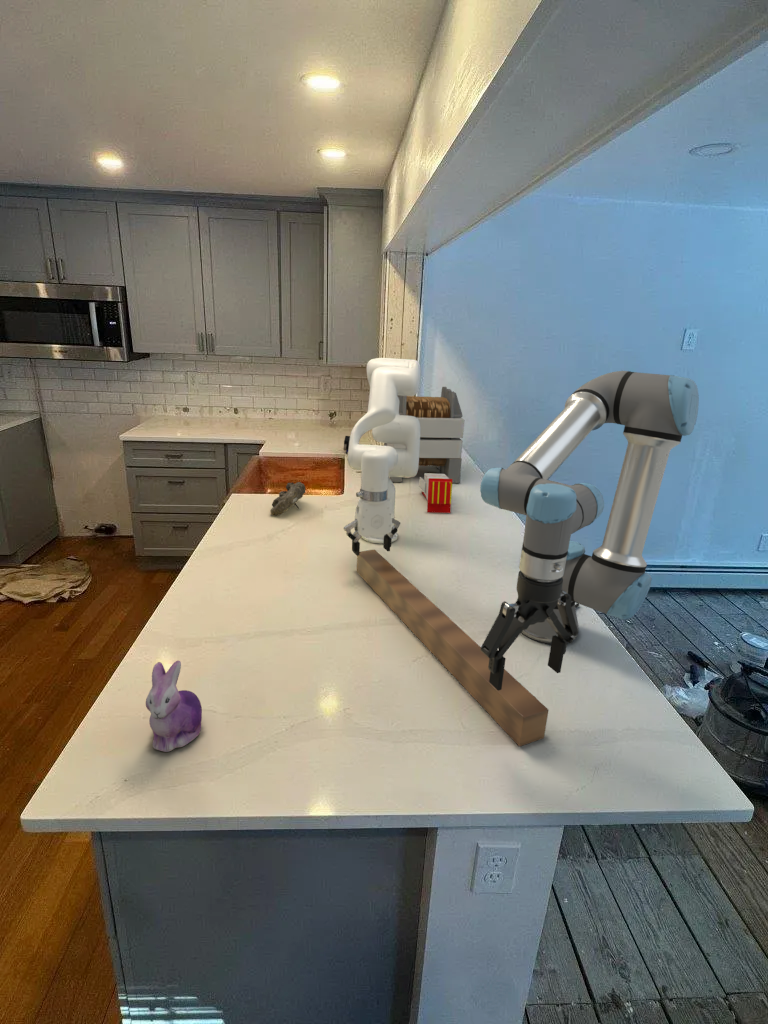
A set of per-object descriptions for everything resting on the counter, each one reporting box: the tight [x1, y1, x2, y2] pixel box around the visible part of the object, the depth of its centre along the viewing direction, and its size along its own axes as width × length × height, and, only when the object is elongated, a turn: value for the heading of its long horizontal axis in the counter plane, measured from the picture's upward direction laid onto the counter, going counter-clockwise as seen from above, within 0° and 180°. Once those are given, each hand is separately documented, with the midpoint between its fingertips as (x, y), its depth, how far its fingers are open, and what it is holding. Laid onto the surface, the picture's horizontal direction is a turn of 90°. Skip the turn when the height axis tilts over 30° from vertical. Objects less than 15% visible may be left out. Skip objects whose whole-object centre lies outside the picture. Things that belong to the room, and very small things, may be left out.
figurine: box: [145, 660, 203, 753], centre depth 100 cm, size 9×10×15 cm
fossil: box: [270, 481, 307, 517], centre depth 218 cm, size 22×10×15 cm
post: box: [356, 549, 549, 747], centre depth 137 cm, size 78×6×6 cm, turn 25°
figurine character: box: [343, 435, 350, 455], centre depth 308 cm, size 7×8×15 cm
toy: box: [418, 472, 453, 514], centre depth 233 cm, size 12×13×30 cm
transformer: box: [383, 386, 465, 484], centre depth 268 cm, size 34×33×41 cm
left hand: (371, 551), depth 164 cm, fingers open, 9 cm apart
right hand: (525, 677), depth 105 cm, fingers open, 13 cm apart
